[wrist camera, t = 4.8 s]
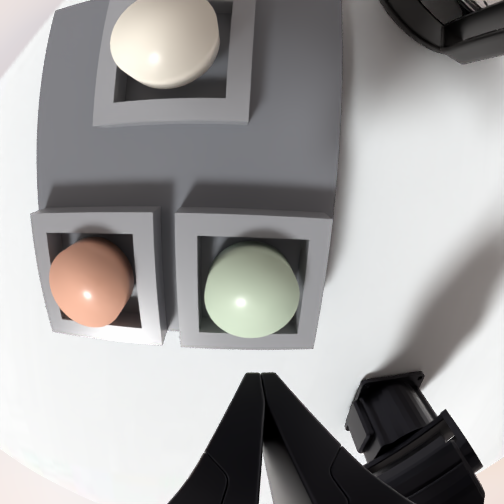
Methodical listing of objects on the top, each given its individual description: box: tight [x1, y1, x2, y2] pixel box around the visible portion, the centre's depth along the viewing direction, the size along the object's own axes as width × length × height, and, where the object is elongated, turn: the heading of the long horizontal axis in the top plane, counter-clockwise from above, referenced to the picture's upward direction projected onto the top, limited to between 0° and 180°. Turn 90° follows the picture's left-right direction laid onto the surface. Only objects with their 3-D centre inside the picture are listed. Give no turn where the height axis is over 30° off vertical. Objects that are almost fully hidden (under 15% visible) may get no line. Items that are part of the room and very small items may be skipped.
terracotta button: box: [49, 237, 134, 328], centre depth 14 cm, size 4×4×2 cm
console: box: [30, 0, 343, 350], centre depth 14 cm, size 16×19×4 cm
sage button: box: [204, 241, 300, 338], centre depth 14 cm, size 4×4×2 cm
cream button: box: [110, 0, 220, 89], centre depth 10 cm, size 4×4×2 cm
